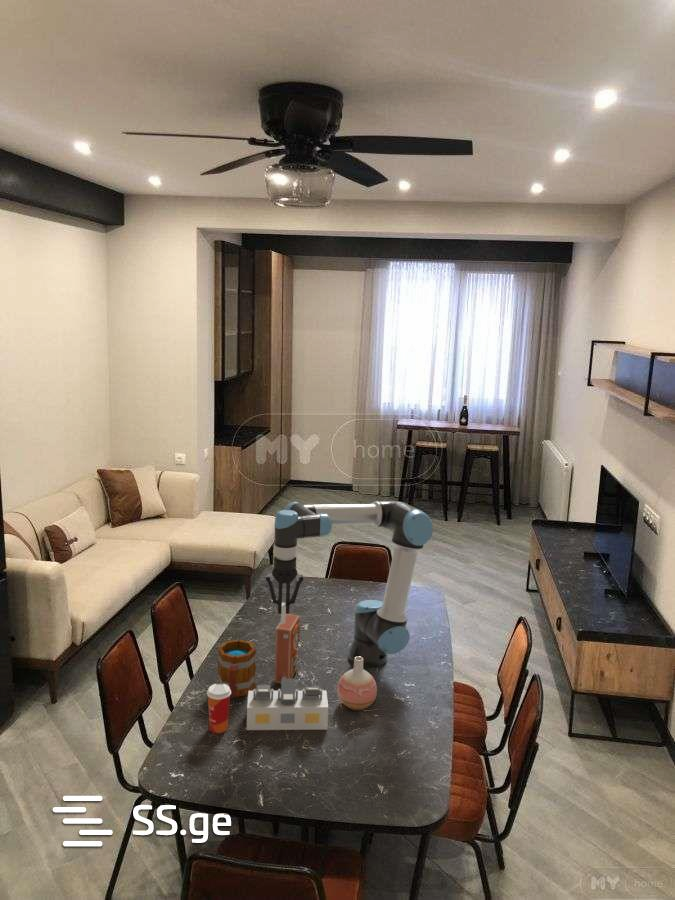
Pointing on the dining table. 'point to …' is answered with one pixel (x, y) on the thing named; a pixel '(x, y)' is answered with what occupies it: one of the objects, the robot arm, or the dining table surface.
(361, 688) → the vase
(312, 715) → the console
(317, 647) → the dining table surface
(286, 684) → the rocker
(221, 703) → the paper cup
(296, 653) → the control panel
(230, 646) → the mug
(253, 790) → the dining table surface
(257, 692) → the rocker
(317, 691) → the rocker
